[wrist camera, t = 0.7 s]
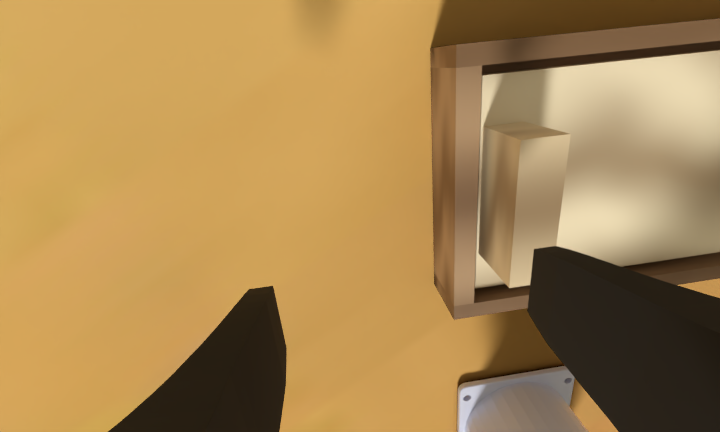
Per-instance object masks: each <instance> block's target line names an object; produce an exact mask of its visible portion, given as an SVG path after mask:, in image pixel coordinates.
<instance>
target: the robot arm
mask: <svg viewBox="0 0 720 432" xmlns="http://www.w3.org/2000/svg"><path fill="white" fill-rule="evenodd" d="M527 311H528V313H529V315H530V317H531V318H532V320H533V322H534V323H535V325H536V327H537V328H538V330H539V332H540V333H541V335H542V336H543V338H544V339H545V341H546V342H547V344H548V345H549V346H550V348H551V349H552V350H553V351H554V353H555V354H556V355H557V356H558V358H559V359H560V360H561V361H562V363H563V364H564V365H565V366H560V367H555V368H549V369H543V370H537V371H531V372H525V373H519V374H513V375H507V376H501V377H495V378H489V379H484V380H478V381H472V382H466V383H462V384H461V385H460V386H459V387H458V415H457V432H588V431H587V429H586V428H585V427H584V425H583V424H582V423H581V421H580V420H579V419H578V417H577V416H576V415H575V413H574V412H573V411H572V410H571V408H570V401H571V396H572V390H573V385H574V379H575V378H576V380H577V381H578V382H579V383H580V385H581V386H582V387H583V388H584V389H585V391H586V392H587V393H588V394H589V395H590V397H591V398H592V399H593V400H594V402H595V403H596V404H597V405H598V406H599V408H600V409H601V410H602V411H603V412H604V414H605V415H606V416H607V417H608V418H609V420H610V421H611V422H612V424H613V425H614V426H615V428H616V429H617V430H618V431H619V432H720V298H717V297H713V296H710V295H707V294H703V293H700V292H697V291H694V290H690V289H687V288H684V287H681V286H677V285H674V284H671V283H668V282H665V281H662V280H659V279H656V278H653V277H650V276H647V275H644V274H641V273H638V272H635V271H632V270H629V269H626V268H623V267H621V266H618V265H615V264H612V263H609V262H606V261H603V260H600V259H597V258H595V257H592V256H589V255H586V254H582V253H579V252H576V251H573V250H570V249H566V248H562V247H558V246H552V247H544V248H537V249H534V253H533V262H532V272H531V281H530V291H529V300H528V310H527ZM285 386H286V344H285V339H284V335H283V330H282V326H281V321H280V316H279V312H278V307H277V302H276V298H275V293H274V289H273V286H269V287H262V288H255V289H249V290H248V291H247V292H246V293H245V294H244V296H243V297H242V298H241V299H240V300H239V302H238V303H237V304H236V305H235V306H234V308H233V309H232V310H231V311H230V312H229V313H228V315H227V316H226V317H225V318H224V319H223V321H222V322H221V323H220V324H219V325H218V326H217V328H216V329H215V330H214V331H213V332H212V333H211V334H210V336H209V337H208V338H207V339H206V340H205V341H204V342H203V343H202V344H201V346H200V347H199V348H198V349H197V350H196V351H195V352H194V353H193V354H192V355H191V356H190V357H189V358H188V359H187V360H186V361H185V362H184V363H183V364H182V365H181V366H180V367H179V368H178V369H177V370H176V372H175V373H174V374H173V375H172V376H171V377H170V378H169V379H167V380H166V381H165V382H164V383H163V384H162V385H161V386H160V387H159V388H158V389H157V390H156V391H155V392H154V393H153V394H152V395H150V396H149V397H148V398H147V399H146V400H145V401H144V402H143V403H141V404H140V405H139V406H138V407H137V408H136V409H135V410H134V411H132V412H131V413H130V414H129V415H128V416H127V417H125V418H124V419H123V420H122V421H121V422H120V423H118V424H117V425H116V426H115V427H113V428H112V429H111V430H110V431H108V432H279V429H280V422H281V415H282V408H283V401H284V394H285Z"/></svg>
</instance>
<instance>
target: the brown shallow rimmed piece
mask: <svg viewBox="0 0 720 432" xmlns="http://www.w3.org/2000/svg"><path fill="white" fill-rule="evenodd" d="M716 49H720V18H718V19H708V20H698V21H688V22H678V23H668V24H657V25H647V26H637V27H627V28H617V29H607V30H597V31H587V32H577V33H567V34H557V35H547V36H537V37H526V38H516V39H506V40H496V41H486V42H476V43H466V44H456V45H449V46H443V47H436V48H431V109H432V171H433V232H434V284H435V286H436V288H437V290H438V292H439V293H440V295H441V297H442V299H443V301H444V302H445V304H446V306H447V308H448V310H449V311H450V313H451V315H452V317H453V319H454V320H455V319H461V318H467V317H474V316H480V315H487V314H493V313H500V312H506V311H512V310H519V309H525V308H528V300H529V291H530V285H527V286H520V287H514V288H509V287H508V286H507V285H506V284H503V285H496V286H489V287H483V288H476V289H475V258H476V229H477V200H478V171H479V141H480V112H481V83H482V74H489V73H499V72H508V71H518V70H527V69H536V68H546V67H555V66H565V65H574V64H584V63H593V62H603V61H612V60H621V59H631V58H640V57H650V56H659V55H669V54H678V53H688V52H697V51H706V50H716ZM623 268H626V269H629V270H632V271H635V272H638V273H641V274H644V275H647V276H650V277H653V278H656V279H659V280H662V281H665V282H668V283H671V284H674V285H679V284H686V283H692V282H698V281H705V280H711V279H718V278H720V252H716V253H709V254H703V255H696V256H689V257H683V258H676V259H669V260H663V261H656V262H649V263H643V264H636V265H629V266H623Z"/></svg>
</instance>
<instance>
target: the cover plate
mask: <svg viewBox="0 0 720 432" xmlns="http://www.w3.org/2000/svg"><path fill="white" fill-rule="evenodd" d="M552 246H558V247H562V248H566V249H570V250H573V251H576V252H579V253H582V254H586V255H589V256H592V257H595V258H597V259H600V260H603V261H606V262H609V263H612V264H615V265H618V266H621V267H623V266H629V265H636V264H643V263H649V262H656V261H663V260H669V259H676V258H683V257H689V256H696V255H703V254H709V253H716V252H720V49H716V50H706V51H697V52H688V53H678V54H669V55H659V56H650V57H640V58H631V59H621V60H612V61H603V62H593V63H584V64H574V65H565V66H555V67H546V68H536V69H527V70H518V71H508V72H499V73H489V74H482V83H481V112H480V141H479V171H478V200H477V229H476V258H475V289H476V288H483V287H489V286H496V285H503V284H506V285H507V286H508V287H509V288H514V287H520V286H527V285H530V281H531V272H532V262H533V253H534V249H537V248H544V247H552Z"/></svg>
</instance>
